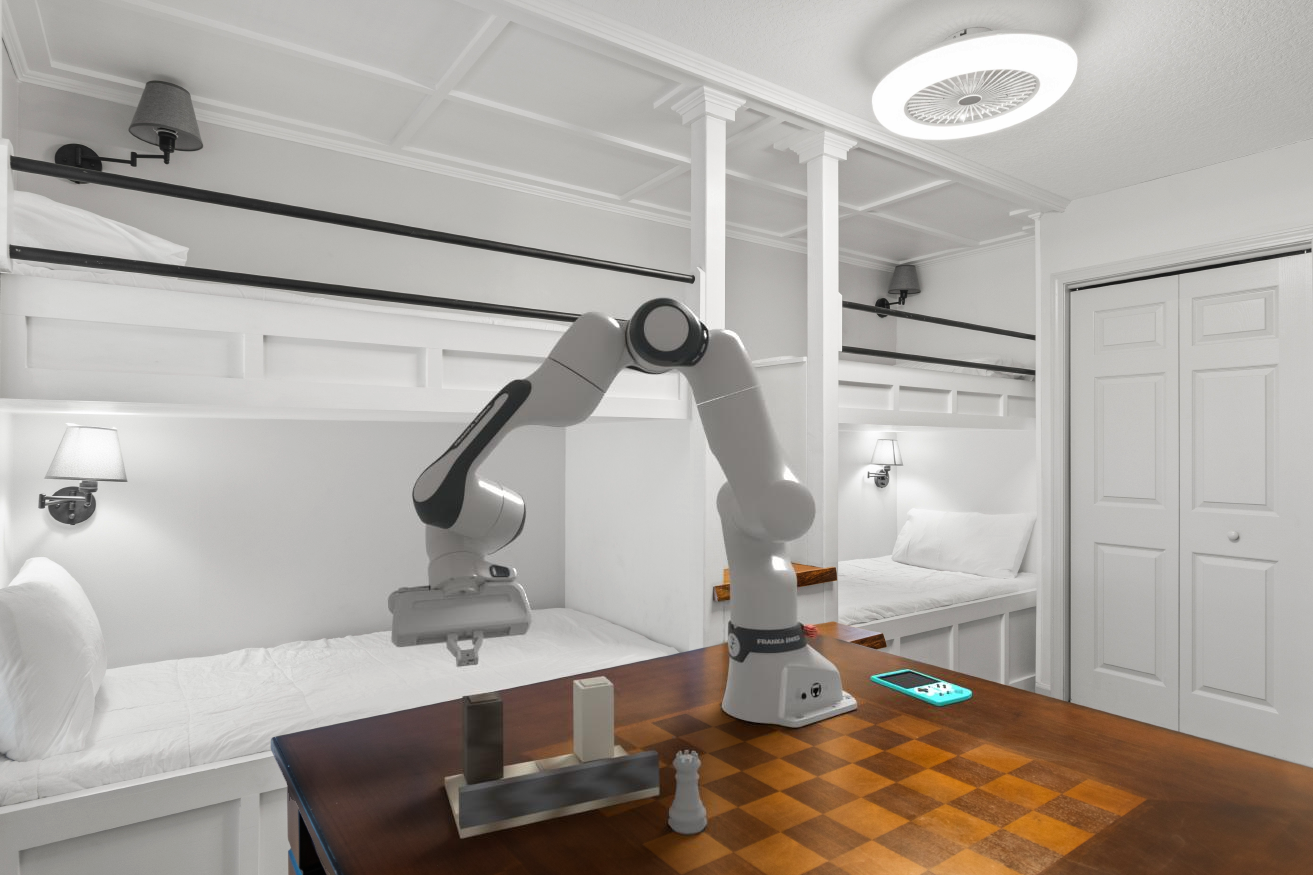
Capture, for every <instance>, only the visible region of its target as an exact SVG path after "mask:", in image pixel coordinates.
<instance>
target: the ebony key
mask: <svg viewBox="0 0 1313 875" xmlns="http://www.w3.org/2000/svg"><path fill="white" fill-rule="evenodd" d="M461 703H462V704H461V705H462V712H461V713H462V714H461V717H462V720H461V721H462V726H461V727H462V774H464V777H465V779H466V782H467V785H468V784H473V783H478V782H484V781H489V780H494V779H499V778H504V766H505V765H504V700H503V698H502V697H501V695H500V694H499V692H498V690H497V691H492V692H491V691H490V692H489V691H488V692H483V693H476V694H469V695H463V696H462V702H461Z"/></svg>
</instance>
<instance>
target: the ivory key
mask: <svg viewBox="0 0 1313 875" xmlns="http://www.w3.org/2000/svg"><path fill="white" fill-rule="evenodd" d="M572 682H573V685H572V687H573V689H572V690H573V691H572V692H573V693H572V694H573V698H572V699H573V700H572V701H573V708H572V709H573V711H572V712H573V752H574V753H576V755H577V756H578V757H579V759H580V760H581V761H582V763H583V762H588V761H594V760H599V759H604V758H609V757H614V746H615V704H614V703H615V701H614V700H615V693H614V692H615V691H614V690H615V687H614V686H615V685H614V684H613V682H611V680H609V679H608V678H607V677H606V676H604V675H602V676H596V677H590V678H589V677H588V678H583V679H575V680H573V681H572Z"/></svg>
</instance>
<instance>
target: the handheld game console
mask: <svg viewBox="0 0 1313 875" xmlns="http://www.w3.org/2000/svg"><path fill="white" fill-rule="evenodd" d="M870 680H871V681H872V682H874V683H877V684H879V685H882V686H885V687H887V688H889V689H892V690H894V691H898V692H900V693H903V694H905V695H908V696H910V697H912V698H913V697H914V698H916V699H919V700H921V701H924V702H926V703H929V704H932V705H935V706H937V707H942V706H947V705H950V704H955V703H959V702H963V701H966V700H969V699H971V698H972V697H973V692H972V691H971V690H970V689H968V688H965V687H962V686H959V685H956V684H953V683H950V682H947V681H944V680H942V679H938V678H935V677H932V676H931V675H927V674H924V673H920V672H918V671H915V670H911V669H901V670H900V669H899V670H897V671H896V670H895V671H891V672H886V673H881V674H875V675H872V676H870Z"/></svg>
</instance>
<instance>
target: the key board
mask: <svg viewBox="0 0 1313 875" xmlns="http://www.w3.org/2000/svg"><path fill="white" fill-rule="evenodd" d="M444 788H445V791H446V794H447V798H448V800H449V801H448V802H449V805H450V807H451V810H452V814H453V817H454V821H455V824H456V827H457V831H458V835H459V838H460V839H465V838H470V837H475V836H479V835H482V834H483V835H484V834H487V833H493V832H497V831H501V830H507V829H511V828H514V827H515V828H516V827H520V826H524V825H529V824H533V823H537V822H542V821H547V820H551V819H555V818H560V817H564V816H565V817H566V816H570V815H574V814H578V813H583V812H587V811H588V812H589V811H591V810H597V809H601V808H605V807H610V806H615V805H619V804H624V803H629V802H634V801H638V800H642V799H647V798H652V797H657V796H660V754H659V752H657V750H655V749H652V750H647V751H641V752H637V753H631V754H629V753H628V752H627V751H626V750H625V749H624V748H623V747H622V746H621V744H617V745H614V757H609V758H604V759H599V760H594V761H588V762H583V763H582V761H581V760H580V759H579V757H578V756H577V755H576V753H575V752H574V753H570V754H569V753H568V754H564V755H558V756H554V757H552V756H551V757H548V758H543V759H542V758H541V759H538V760H537V759H536V760H531V761H526V762H520V763H515V764H510V765H509V764H508V765H504V778H499V779H494V780H489V781H484V782H478V783H473V784H468V785H467V782H466V779H465V777H464V774H463V773H460V774H456V775H455V774H454V775H450V776H444Z"/></svg>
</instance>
